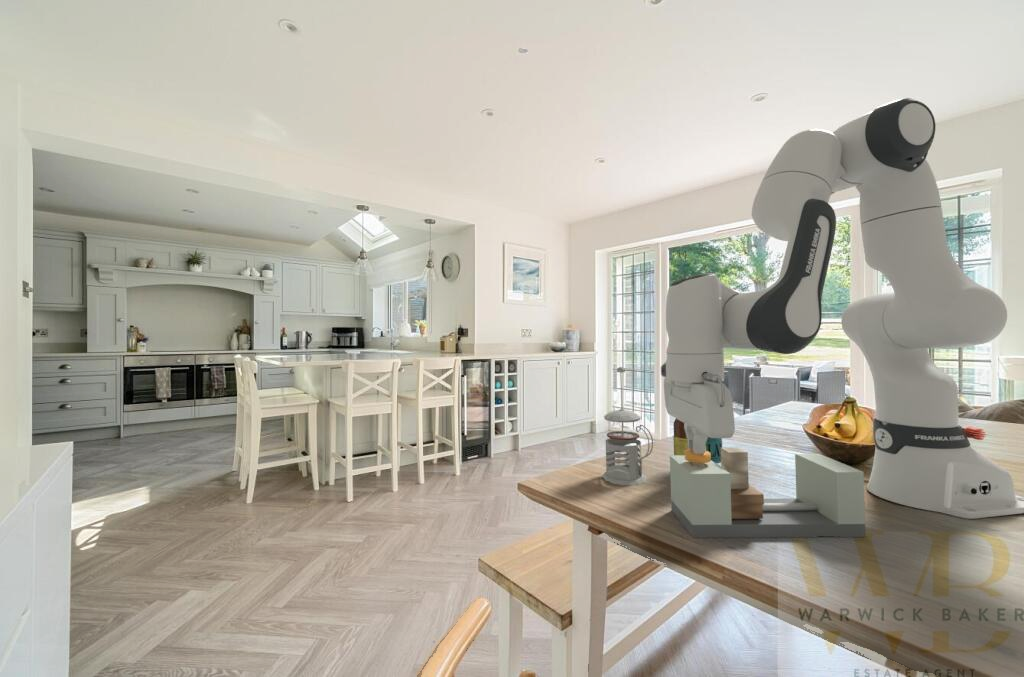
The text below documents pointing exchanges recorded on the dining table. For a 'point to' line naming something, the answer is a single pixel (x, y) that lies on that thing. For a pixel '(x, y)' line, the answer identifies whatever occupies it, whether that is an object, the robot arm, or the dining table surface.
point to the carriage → (741, 485)
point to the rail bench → (771, 501)
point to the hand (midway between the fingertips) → (696, 452)
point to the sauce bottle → (680, 438)
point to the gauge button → (697, 457)
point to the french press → (624, 449)
